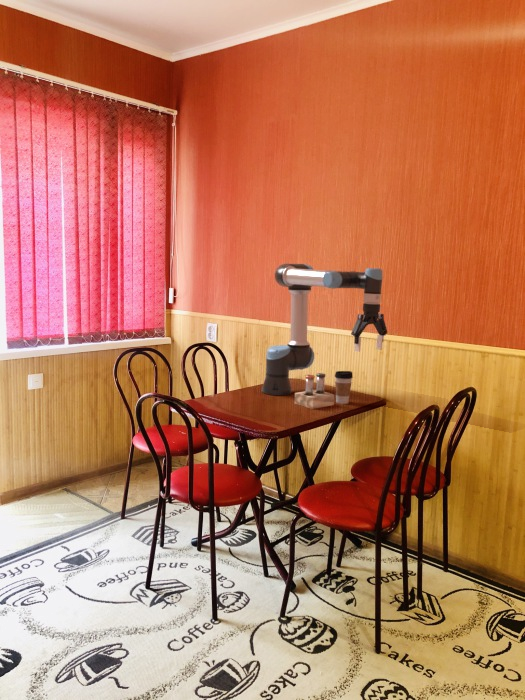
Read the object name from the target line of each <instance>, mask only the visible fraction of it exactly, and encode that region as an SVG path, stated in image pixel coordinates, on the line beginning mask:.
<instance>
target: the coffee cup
mask: <svg viewBox="0 0 525 700" xmlns="http://www.w3.org/2000/svg"><path fill="white" fill-rule="evenodd" d="M334 377H335V380H334V381H335V382H334V383H335V385H334V386H335V402H336V404H340V405H341V404H342V405H343V404H344V405H346V404H349V402H350V401H349V400H350V393H351V387H352V383H353V382H352V379H353V371H351V370H338V371H335V374H334Z"/></svg>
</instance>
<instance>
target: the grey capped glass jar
mask: <svg viewBox="0 0 525 700" xmlns="http://www.w3.org/2000/svg"><path fill="white" fill-rule="evenodd" d="M326 376H327V375H326V373H321V372H320V373H319V372H318V373H316V376H315V377H316V389H315V390H316V393H318V394H323V393H324V392H325V382H326V381H325V379H326Z"/></svg>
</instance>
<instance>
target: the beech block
mask: <svg viewBox="0 0 525 700" xmlns="http://www.w3.org/2000/svg"><path fill="white" fill-rule="evenodd" d="M293 403H294V404H295V405H298V406H302V407H304V408H308V409H311V410H314V409H320V408H326V407H329V406H334V405H335V394H333V393H330V392H326V391H324V393H323V394H318V393H316V389H313V395H312V396H308V395H305V390H304V391H299V392H294V402H293Z"/></svg>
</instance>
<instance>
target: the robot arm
mask: <svg viewBox="0 0 525 700" xmlns="http://www.w3.org/2000/svg"><path fill="white" fill-rule="evenodd" d="M274 279H275V282H276V283H277V284H278V285H279V286H281V287H286V288H287V290H288V292H289V293H290V340H289V341H288V342H287V344H286V345H285V344H280V345H278V344H277V345H273V346H270V347H268V348H267V350H266V359H265V360H266V363H265V378H264V382H263V384H262V386H261V392H262V394H266V395H271V396H287V395H291V394H292V390H293V389H292V386H291V382H290V378H289V377H290V371H297V370H298V371H299V370H304V369H309V368H310V367H311V366H312V365H313V363H314V361H315V352H314V351H313V348H312V347H311V343H310V342H309V341H308V312H309V311H308V308H309V307H308V306H309V303H308V302H309V294H310V293H311V291H312V287H321V288H327V289H333V290H334V289H361V290H363V300H362V301H363V304H362V311H363V314H362V313H361V314H360V313H358V314H357V319H356V322H355V323H354V326H353V328H352V331H351V336H354V339H353V340H354V352H360V353H361V344H362V343H361V342H362V337H361V335H362V334H363V332H364V330H365V329H366V328H367V326H369V325H373V326H374V327H375V330H376V331H377V333H378V334H377V336H376V337H377V339H376V350H381V351H382V350H383V342H384V338H385V337H384V336H386V335H387V334H388V329H387V326H386V325H387V324H386V322H385V320H384V319H385V318H384V316H385V315H384V313H380V311H381V304H380V303H381V300H382V299H381V298H382V287H383V285H382V284H383V280H384V279H383V269H382V268H375V267H374V268H373V267H371V268H370V267H367V268H366V269H365V271H363V272H362V271H356V270H355V271H350V270H349V271H344V270H343V271H341V270H339V271H338V270H322V269H314V268H313V267H312V266H311V265H309V264H304V263H283V264H280V265H279V266H278V267H277V268H276V269H275V272H274Z"/></svg>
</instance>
